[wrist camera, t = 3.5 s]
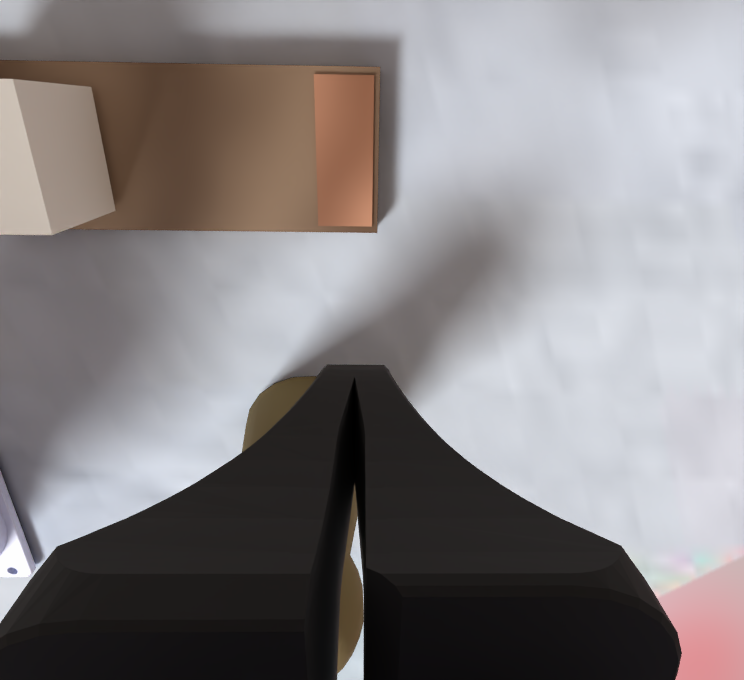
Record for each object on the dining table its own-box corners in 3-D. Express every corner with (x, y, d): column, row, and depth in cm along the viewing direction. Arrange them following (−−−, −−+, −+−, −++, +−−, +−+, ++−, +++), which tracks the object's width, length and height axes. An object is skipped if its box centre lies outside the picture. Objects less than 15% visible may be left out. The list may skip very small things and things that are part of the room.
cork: (244, 476, 25) (162, 723, 15) (247, 369, 22) (151, 578, 12) (365, 486, 25) (365, 734, 15) (380, 382, 23) (394, 596, 13)
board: (-8, 222, 19) (-28, 228, 18) (-56, 61, 17) (-83, 58, 16) (376, 227, 20) (377, 233, 19) (379, 69, 17) (380, 66, 16)
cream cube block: (3, 209, 18) (-89, 233, 14) (-33, 84, 16) (-147, 76, 13) (115, 210, 18) (52, 235, 14) (91, 86, 16) (12, 78, 13)
